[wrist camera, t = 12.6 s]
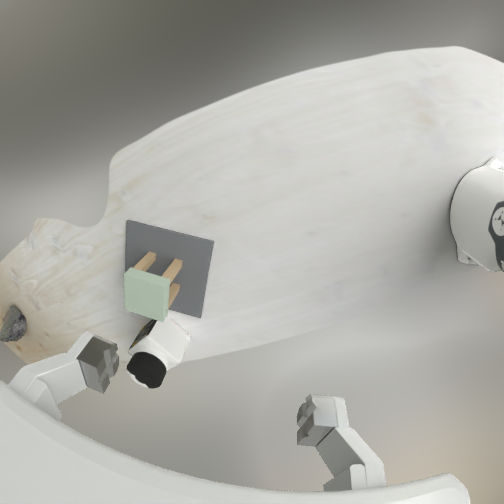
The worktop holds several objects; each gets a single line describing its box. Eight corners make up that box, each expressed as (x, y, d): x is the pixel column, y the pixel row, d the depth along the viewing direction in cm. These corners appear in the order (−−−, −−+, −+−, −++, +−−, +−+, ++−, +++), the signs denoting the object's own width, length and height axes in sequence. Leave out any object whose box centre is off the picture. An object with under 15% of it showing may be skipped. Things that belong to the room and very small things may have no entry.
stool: (184, 259, 41) (164, 286, 33) (180, 292, 43) (162, 322, 36) (148, 249, 41) (123, 274, 33) (146, 282, 43) (124, 309, 36)
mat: (214, 241, 39) (213, 242, 39) (200, 316, 45) (200, 318, 45) (128, 219, 39) (127, 220, 39) (126, 294, 45) (125, 295, 45)
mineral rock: (18, 335, 58) (1, 354, 49) (1, 305, 54) (-18, 323, 45) (36, 335, 56) (17, 357, 47) (17, 303, 52) (-4, 323, 43)
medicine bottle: (162, 310, 46) (134, 356, 35) (192, 336, 47) (172, 385, 36) (142, 327, 48) (115, 371, 37) (169, 351, 50) (148, 397, 39)
